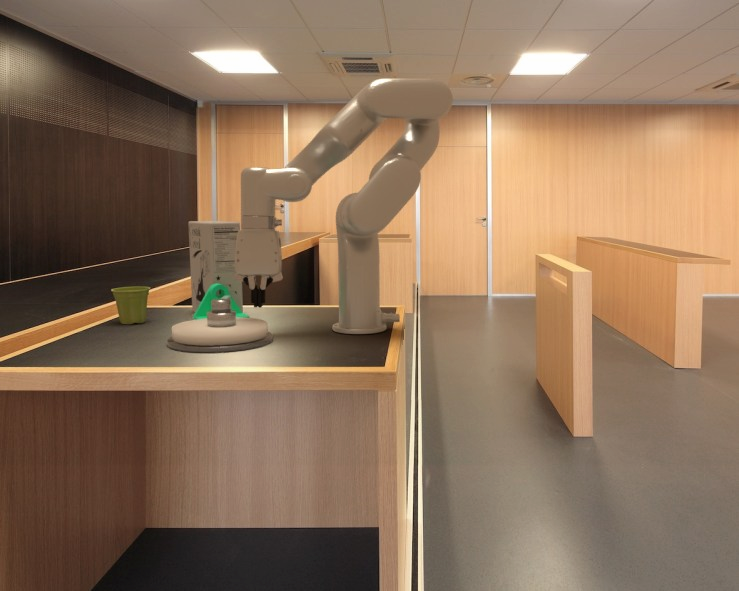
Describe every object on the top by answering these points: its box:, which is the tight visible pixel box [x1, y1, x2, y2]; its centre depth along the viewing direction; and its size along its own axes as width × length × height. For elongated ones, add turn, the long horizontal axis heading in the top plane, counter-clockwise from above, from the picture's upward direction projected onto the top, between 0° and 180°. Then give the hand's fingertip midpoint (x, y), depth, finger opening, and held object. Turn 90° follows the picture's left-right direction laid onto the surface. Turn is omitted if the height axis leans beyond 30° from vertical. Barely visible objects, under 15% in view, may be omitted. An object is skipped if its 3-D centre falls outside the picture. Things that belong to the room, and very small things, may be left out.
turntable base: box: [166, 331, 274, 354], centre depth 143 cm, size 22×22×1 cm
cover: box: [207, 299, 236, 328], centre depth 142 cm, size 6×6×5 cm
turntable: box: [171, 296, 269, 346], centre depth 142 cm, size 20×20×7 cm
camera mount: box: [192, 283, 250, 320], centre depth 161 cm, size 12×8×10 cm, turn 118°
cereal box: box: [188, 220, 244, 313], centre depth 176 cm, size 22×8×25 cm, turn 29°
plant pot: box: [110, 286, 151, 325], centre depth 167 cm, size 9×9×9 cm
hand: (258, 306), depth 149 cm, fingers closed
